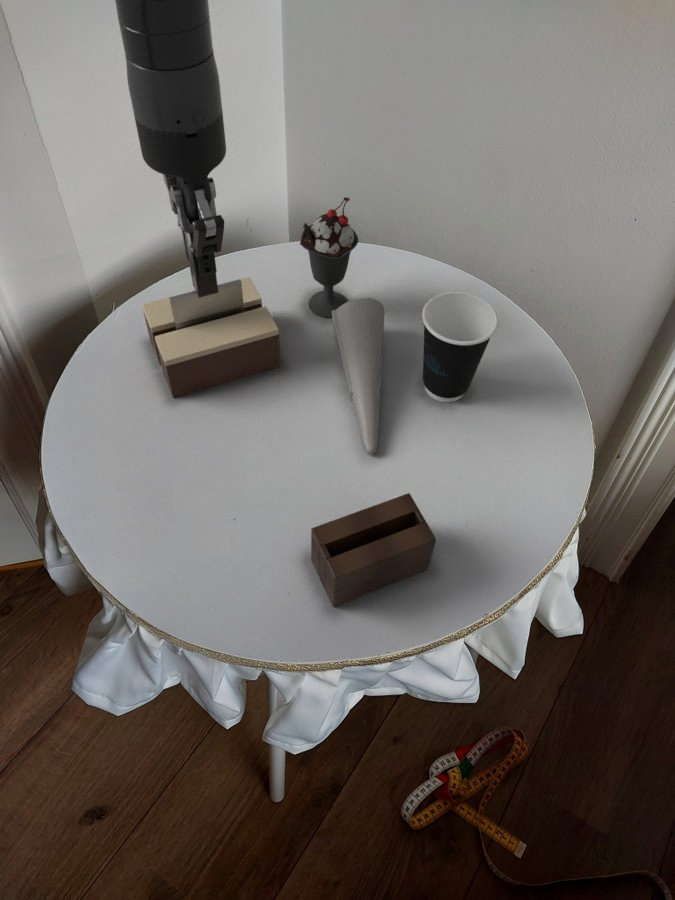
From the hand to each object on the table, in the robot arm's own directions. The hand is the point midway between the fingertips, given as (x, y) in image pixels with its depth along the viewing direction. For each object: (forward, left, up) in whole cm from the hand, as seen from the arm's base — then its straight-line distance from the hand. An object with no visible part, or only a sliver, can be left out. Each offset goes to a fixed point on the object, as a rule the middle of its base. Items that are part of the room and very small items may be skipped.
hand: (201, 266), depth 76 cm
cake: (0, 0, -13) cm, 13 cm away
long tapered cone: (+15, -12, -13) cm, 23 cm away
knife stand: (+5, -32, -13) cm, 35 cm away
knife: (0, 0, -13) cm, 13 cm away
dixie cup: (+23, -15, -13) cm, 30 cm away
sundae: (+16, +3, -13) cm, 21 cm away
